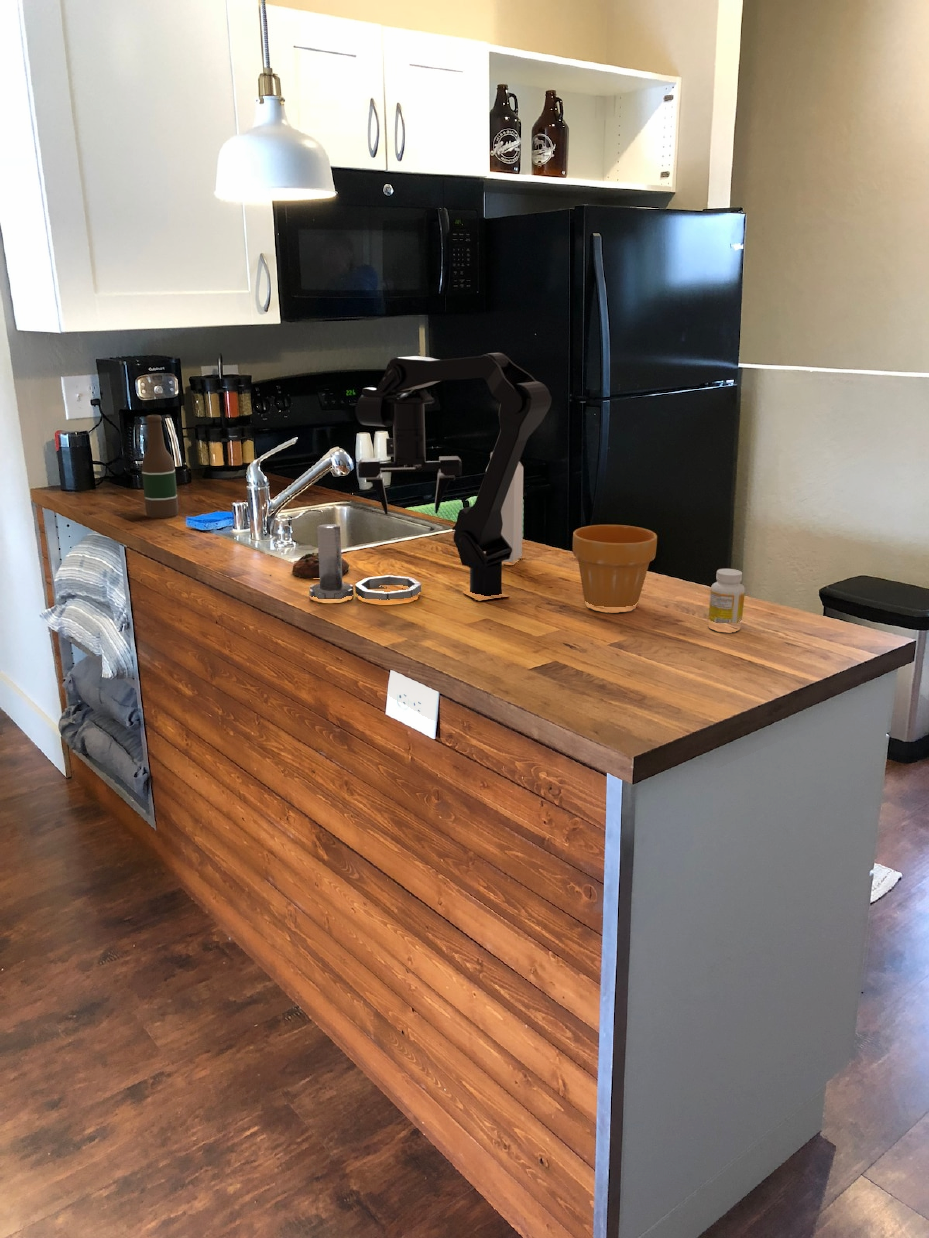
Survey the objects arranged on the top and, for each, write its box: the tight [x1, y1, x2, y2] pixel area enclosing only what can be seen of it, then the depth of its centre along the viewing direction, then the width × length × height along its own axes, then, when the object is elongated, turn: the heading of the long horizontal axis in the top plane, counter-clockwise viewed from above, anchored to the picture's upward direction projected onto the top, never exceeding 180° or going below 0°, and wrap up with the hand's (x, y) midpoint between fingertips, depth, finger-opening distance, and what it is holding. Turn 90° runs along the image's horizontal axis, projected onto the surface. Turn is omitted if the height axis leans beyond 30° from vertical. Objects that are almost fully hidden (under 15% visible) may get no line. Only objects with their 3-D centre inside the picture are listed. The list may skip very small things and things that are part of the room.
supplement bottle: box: [707, 568, 746, 623], centre depth 163 cm, size 5×5×10 cm
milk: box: [484, 451, 524, 562], centre depth 201 cm, size 6×6×22 cm
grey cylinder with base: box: [308, 523, 354, 599], centre depth 178 cm, size 8×8×13 cm
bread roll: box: [291, 552, 350, 579], centre depth 196 cm, size 11×11×5 cm
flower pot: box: [572, 524, 658, 607], centre depth 174 cm, size 14×14×13 cm
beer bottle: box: [141, 414, 179, 519], centre depth 242 cm, size 8×8×24 cm
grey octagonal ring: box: [354, 574, 422, 600], centre depth 181 cm, size 11×11×2 cm
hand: (411, 513), depth 187 cm, fingers open, 9 cm apart
